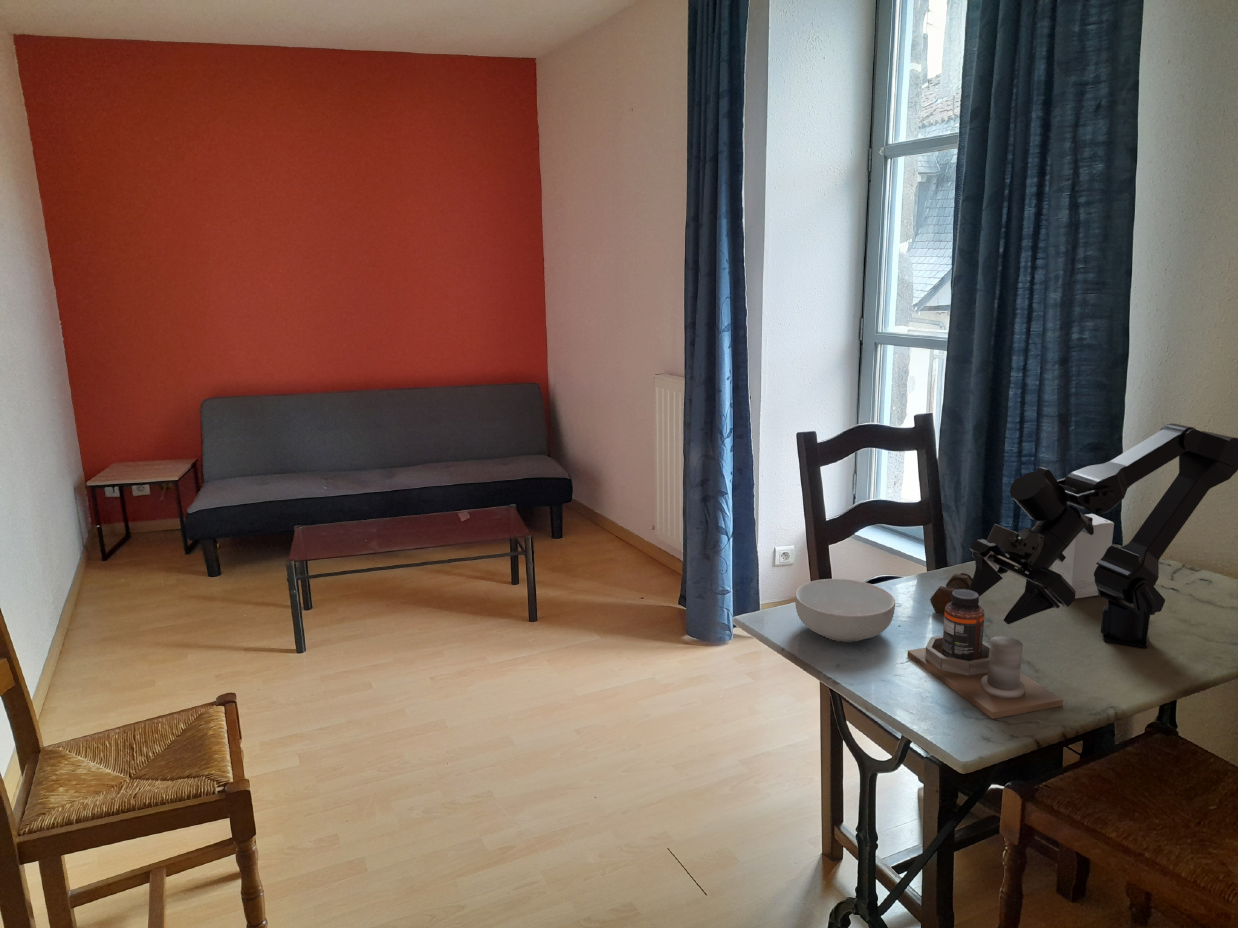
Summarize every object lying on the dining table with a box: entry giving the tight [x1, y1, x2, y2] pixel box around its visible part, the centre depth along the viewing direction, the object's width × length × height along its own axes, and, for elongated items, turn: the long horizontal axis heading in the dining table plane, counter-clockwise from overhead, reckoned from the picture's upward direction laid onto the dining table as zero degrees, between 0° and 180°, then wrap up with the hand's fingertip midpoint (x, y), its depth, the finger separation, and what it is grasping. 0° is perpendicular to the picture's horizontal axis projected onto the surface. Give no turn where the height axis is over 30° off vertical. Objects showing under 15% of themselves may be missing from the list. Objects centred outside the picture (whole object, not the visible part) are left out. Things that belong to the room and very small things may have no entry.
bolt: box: [929, 572, 973, 616], centre depth 166 cm, size 6×5×15 cm
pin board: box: [906, 634, 1064, 720], centre depth 135 cm, size 21×12×8 cm, turn 15°
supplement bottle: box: [942, 589, 985, 661], centre depth 139 cm, size 6×6×11 cm
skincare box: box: [1051, 513, 1115, 600], centre depth 167 cm, size 8×6×15 cm
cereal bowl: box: [794, 578, 896, 643], centre depth 153 cm, size 17×17×7 cm
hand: (986, 611), depth 140 cm, fingers open, 9 cm apart
